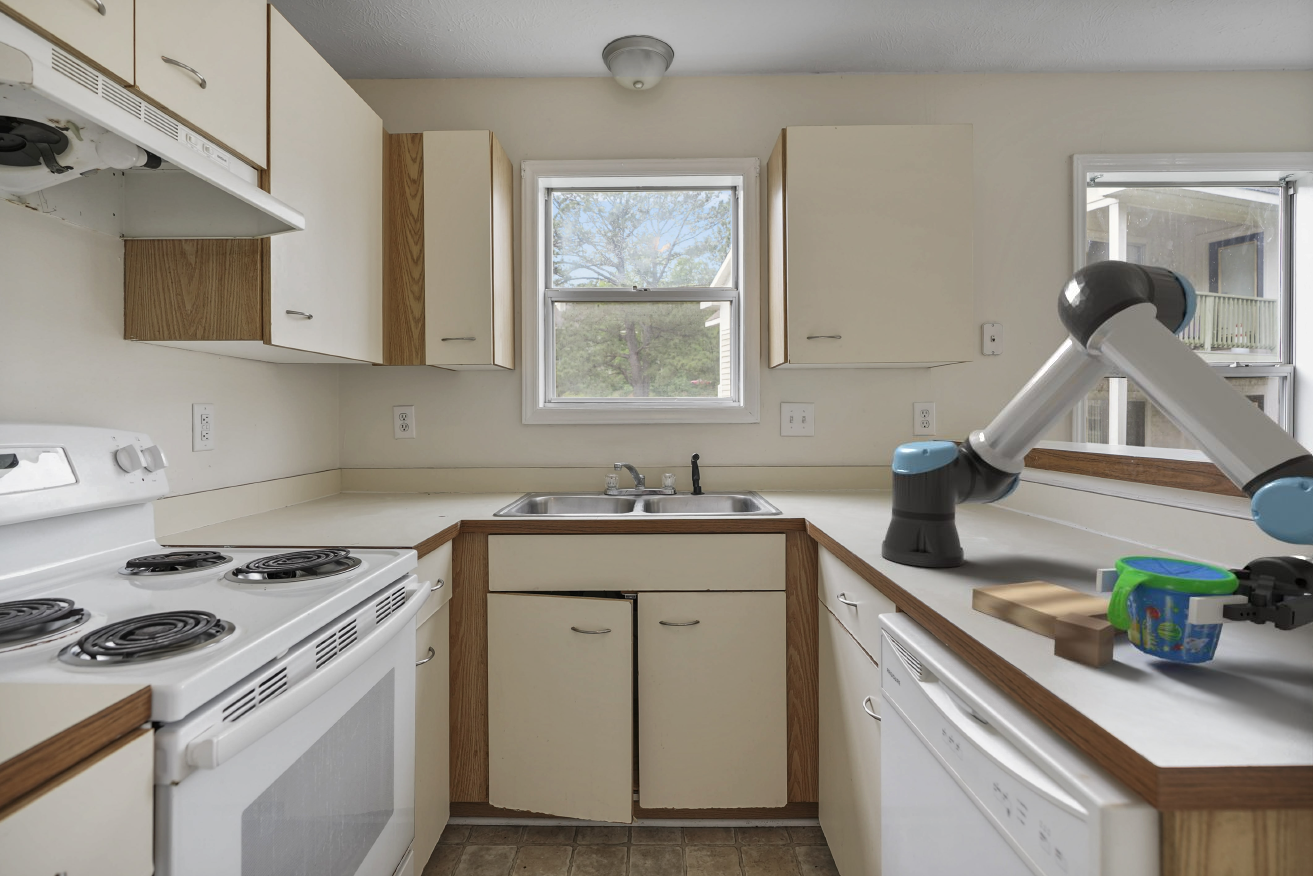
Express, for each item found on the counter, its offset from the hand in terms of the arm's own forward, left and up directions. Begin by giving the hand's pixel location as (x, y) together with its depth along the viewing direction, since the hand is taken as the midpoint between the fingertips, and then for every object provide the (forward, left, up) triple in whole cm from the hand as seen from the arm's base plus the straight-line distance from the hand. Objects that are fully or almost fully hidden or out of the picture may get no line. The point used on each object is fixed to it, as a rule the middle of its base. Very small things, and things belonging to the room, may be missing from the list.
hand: (1142, 594), depth 69 cm
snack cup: (+1, +4, -7) cm, 8 cm away
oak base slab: (-15, +6, -9) cm, 19 cm away
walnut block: (-4, -3, -9) cm, 10 cm away
